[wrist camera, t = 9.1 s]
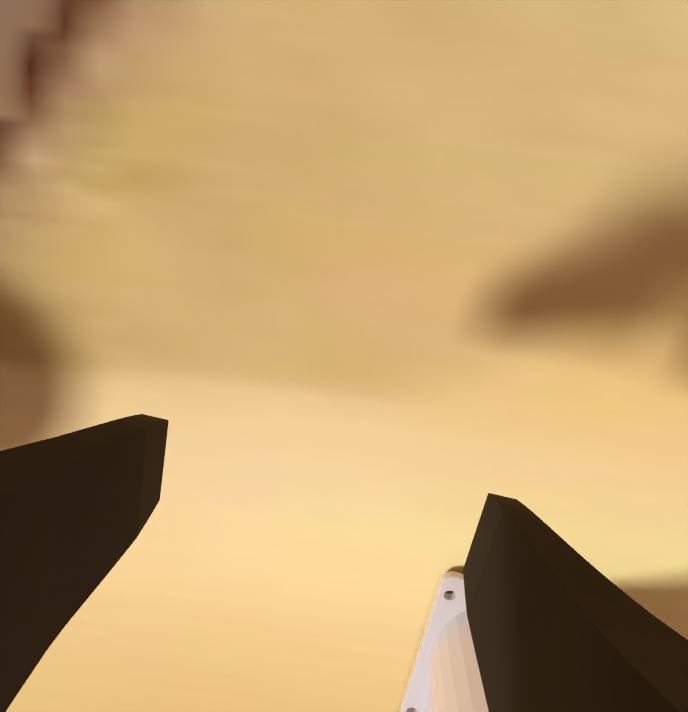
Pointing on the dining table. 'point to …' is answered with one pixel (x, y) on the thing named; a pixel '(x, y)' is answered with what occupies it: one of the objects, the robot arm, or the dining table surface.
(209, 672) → the dining table surface
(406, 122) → the dining table surface
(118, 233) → the dining table surface
